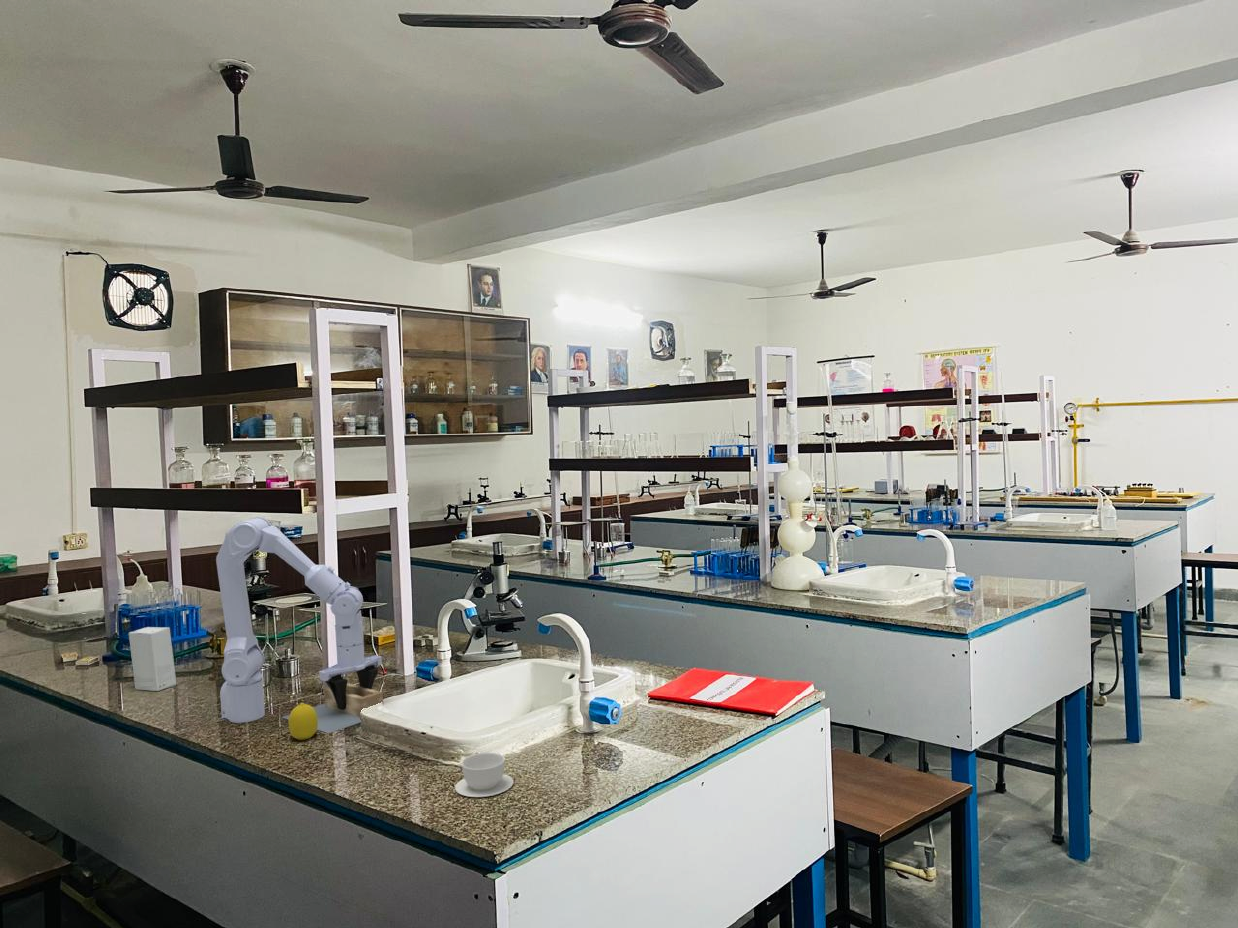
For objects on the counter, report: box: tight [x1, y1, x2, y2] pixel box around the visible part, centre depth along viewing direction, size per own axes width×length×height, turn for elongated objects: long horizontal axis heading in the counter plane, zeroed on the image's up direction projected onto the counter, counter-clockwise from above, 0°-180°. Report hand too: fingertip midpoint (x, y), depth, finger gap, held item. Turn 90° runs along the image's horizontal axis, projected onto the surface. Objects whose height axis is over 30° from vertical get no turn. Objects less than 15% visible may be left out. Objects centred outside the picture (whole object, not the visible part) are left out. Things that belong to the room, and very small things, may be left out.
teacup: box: [454, 751, 515, 798], centre depth 148 cm, size 10×10×5 cm
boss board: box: [281, 703, 362, 734], centre depth 187 cm, size 18×16×4 cm
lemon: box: [288, 702, 318, 741], centre depth 173 cm, size 6×6×8 cm
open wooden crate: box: [323, 682, 384, 717], centre depth 190 cm, size 14×5×4 cm, turn 51°
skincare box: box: [128, 626, 177, 692], centre depth 217 cm, size 8×6×15 cm
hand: (353, 704), depth 190 cm, fingers closed on open wooden crate, 5 cm apart
